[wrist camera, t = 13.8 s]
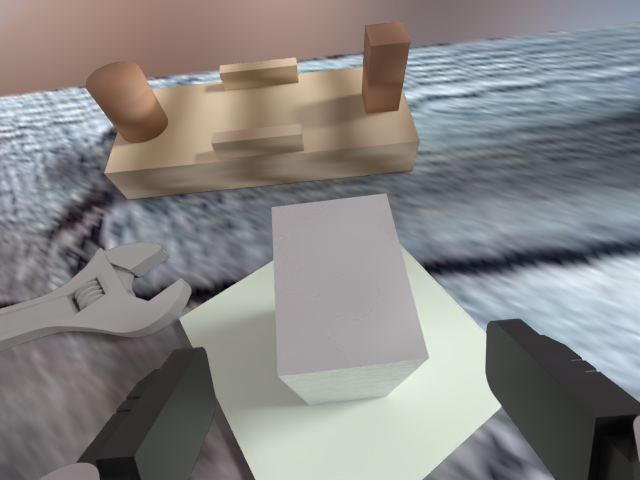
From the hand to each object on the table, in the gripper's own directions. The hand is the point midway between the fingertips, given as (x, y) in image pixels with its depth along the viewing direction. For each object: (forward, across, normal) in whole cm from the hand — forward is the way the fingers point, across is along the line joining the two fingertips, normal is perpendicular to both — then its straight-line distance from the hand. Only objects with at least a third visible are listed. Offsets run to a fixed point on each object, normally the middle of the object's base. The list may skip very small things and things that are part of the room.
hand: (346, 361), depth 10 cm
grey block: (+8, 0, +5) cm, 10 cm away
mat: (+9, 0, +5) cm, 10 cm away
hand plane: (+21, +4, -7) cm, 22 cm away
